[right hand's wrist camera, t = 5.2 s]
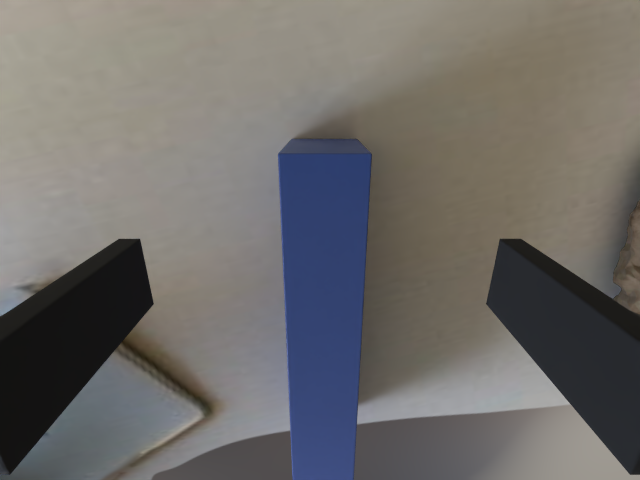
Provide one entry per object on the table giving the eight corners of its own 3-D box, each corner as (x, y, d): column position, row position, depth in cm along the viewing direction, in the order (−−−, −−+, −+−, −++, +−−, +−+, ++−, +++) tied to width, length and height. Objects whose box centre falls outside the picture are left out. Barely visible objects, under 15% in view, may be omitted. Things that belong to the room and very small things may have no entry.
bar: (291, 138, 27) (277, 153, 19) (357, 138, 27) (372, 153, 19) (299, 409, 38) (293, 491, 30) (346, 409, 38) (352, 492, 30)
